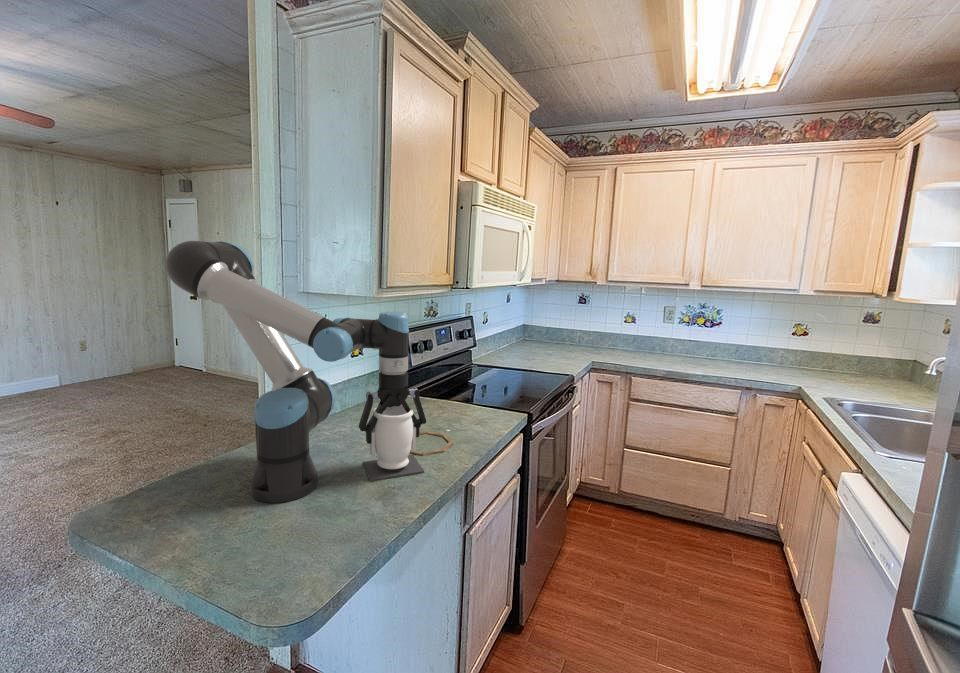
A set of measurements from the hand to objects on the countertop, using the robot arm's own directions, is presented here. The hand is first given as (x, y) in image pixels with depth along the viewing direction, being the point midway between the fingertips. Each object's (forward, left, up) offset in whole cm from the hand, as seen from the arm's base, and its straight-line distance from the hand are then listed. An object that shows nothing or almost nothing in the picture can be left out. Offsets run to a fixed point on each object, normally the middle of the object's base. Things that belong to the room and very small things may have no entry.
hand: (393, 451), depth 122 cm
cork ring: (+13, +13, -5) cm, 19 cm away
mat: (0, 0, -5) cm, 5 cm away
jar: (0, 0, -4) cm, 4 cm away
